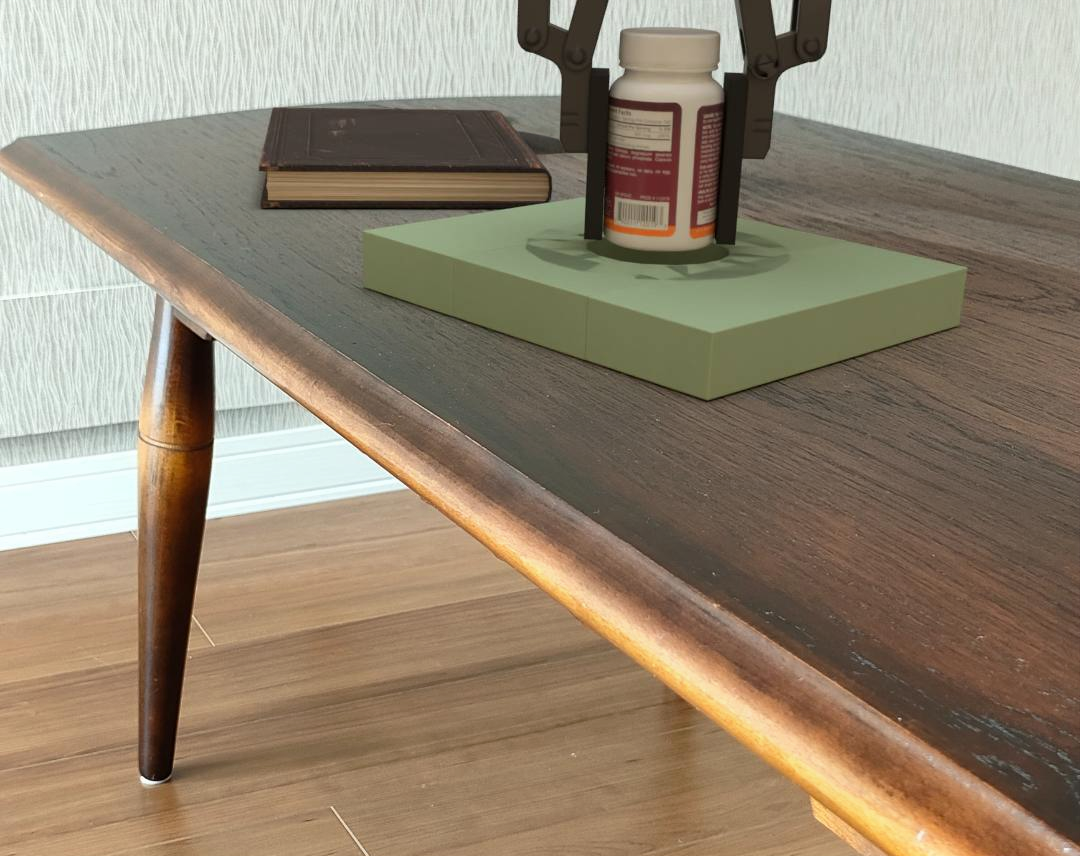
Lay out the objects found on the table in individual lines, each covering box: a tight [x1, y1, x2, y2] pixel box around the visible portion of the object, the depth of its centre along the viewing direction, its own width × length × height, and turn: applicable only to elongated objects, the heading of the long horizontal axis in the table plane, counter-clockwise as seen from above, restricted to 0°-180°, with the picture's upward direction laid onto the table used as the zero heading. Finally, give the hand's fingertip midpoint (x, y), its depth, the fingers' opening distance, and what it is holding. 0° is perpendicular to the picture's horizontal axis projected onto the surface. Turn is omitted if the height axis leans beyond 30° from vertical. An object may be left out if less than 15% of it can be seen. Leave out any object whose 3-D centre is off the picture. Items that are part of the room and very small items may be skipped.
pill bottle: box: [603, 26, 725, 252], centre depth 59 cm, size 5×5×8 cm
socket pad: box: [362, 196, 968, 401], centre depth 62 cm, size 20×16×2 cm
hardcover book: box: [258, 106, 553, 209], centre depth 90 cm, size 16×23×2 cm
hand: (658, 234), depth 61 cm, fingers closed on pill bottle, 5 cm apart
